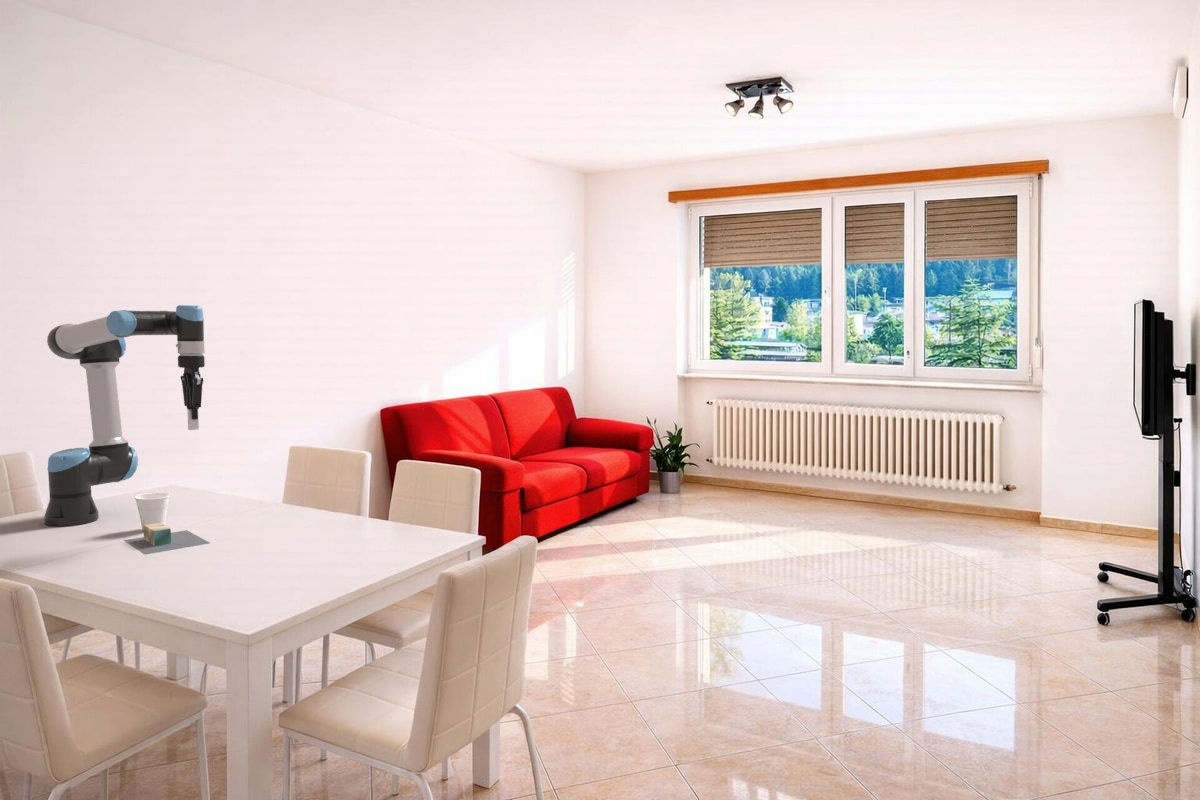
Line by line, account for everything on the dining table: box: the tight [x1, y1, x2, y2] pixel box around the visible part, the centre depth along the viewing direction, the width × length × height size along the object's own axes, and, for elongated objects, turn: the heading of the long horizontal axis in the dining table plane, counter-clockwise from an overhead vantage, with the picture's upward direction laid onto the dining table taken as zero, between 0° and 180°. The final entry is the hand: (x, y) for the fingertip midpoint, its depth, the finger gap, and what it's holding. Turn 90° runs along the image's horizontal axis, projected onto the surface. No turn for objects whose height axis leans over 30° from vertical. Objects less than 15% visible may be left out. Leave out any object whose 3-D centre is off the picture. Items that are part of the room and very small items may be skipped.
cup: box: [134, 492, 171, 531], centre depth 265 cm, size 10×10×11 cm
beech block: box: [143, 522, 172, 546], centre depth 250 cm, size 4×4×10 cm
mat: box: [123, 529, 211, 555], centre depth 250 cm, size 20×18×1 cm
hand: (193, 429), depth 263 cm, fingers closed
